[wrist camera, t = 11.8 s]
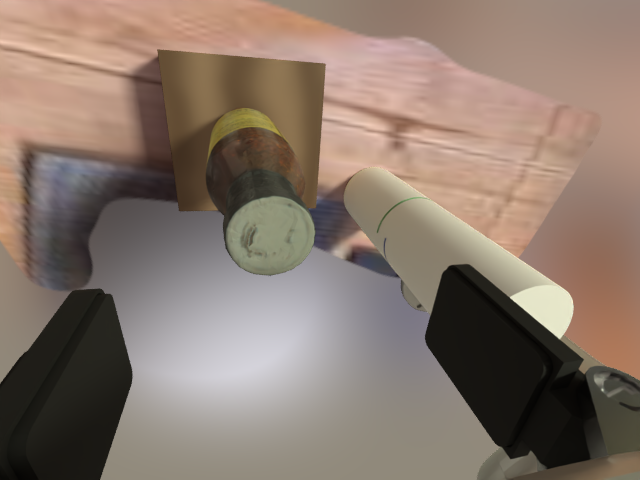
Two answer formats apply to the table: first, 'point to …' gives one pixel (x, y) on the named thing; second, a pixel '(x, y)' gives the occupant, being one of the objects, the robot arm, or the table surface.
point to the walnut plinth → (228, 94)
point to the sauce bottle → (258, 193)
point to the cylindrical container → (444, 247)
